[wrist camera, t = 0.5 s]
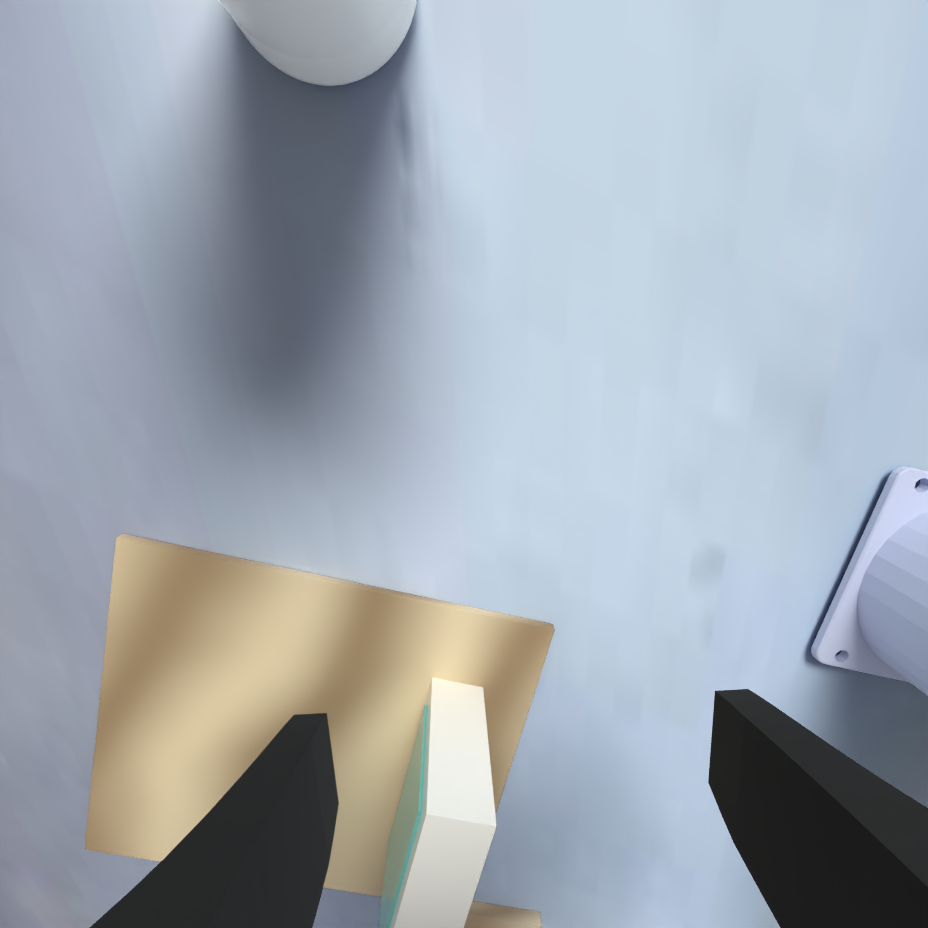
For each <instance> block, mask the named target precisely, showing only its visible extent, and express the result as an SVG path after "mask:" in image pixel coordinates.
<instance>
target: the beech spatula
mask: <svg viewBox="0 0 928 928" xmlns="http://www.w3.org/2000/svg"><path fill="white" fill-rule="evenodd" d="M541 927H542V924H541V917H540V912H538V911H531V910H525V909H519V908H513V907H507V906H500V905H494V904H488V903H482V902H476V901H472V903H471V906H470V909H469V913H468V916H467V919H466V922H465V925H464V928H541Z"/></svg>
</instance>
